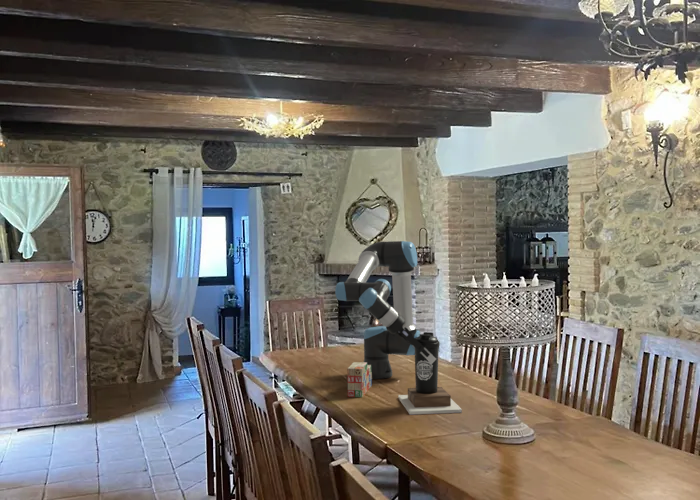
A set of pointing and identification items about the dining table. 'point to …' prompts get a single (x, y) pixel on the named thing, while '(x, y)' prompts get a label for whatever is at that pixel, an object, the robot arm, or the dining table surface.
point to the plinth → (429, 398)
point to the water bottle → (427, 365)
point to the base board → (428, 410)
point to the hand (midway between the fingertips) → (429, 358)
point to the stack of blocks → (359, 379)
